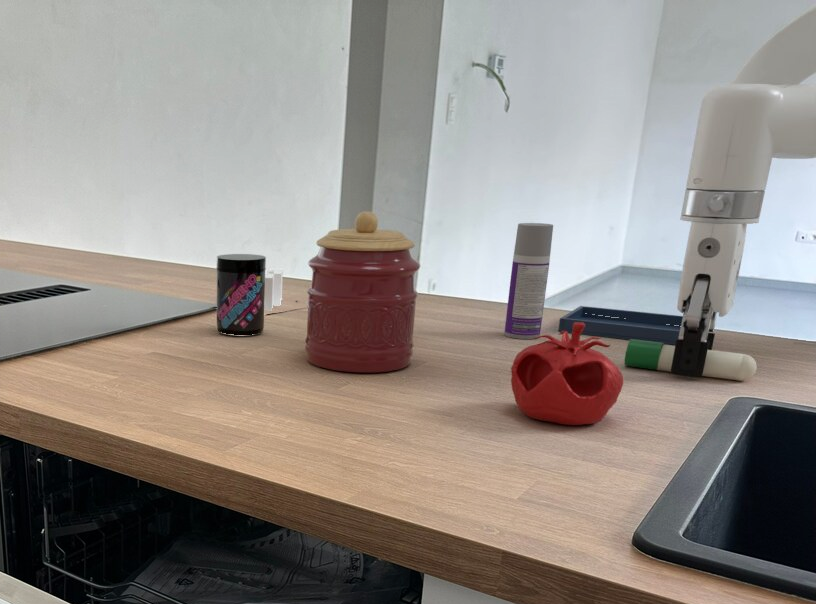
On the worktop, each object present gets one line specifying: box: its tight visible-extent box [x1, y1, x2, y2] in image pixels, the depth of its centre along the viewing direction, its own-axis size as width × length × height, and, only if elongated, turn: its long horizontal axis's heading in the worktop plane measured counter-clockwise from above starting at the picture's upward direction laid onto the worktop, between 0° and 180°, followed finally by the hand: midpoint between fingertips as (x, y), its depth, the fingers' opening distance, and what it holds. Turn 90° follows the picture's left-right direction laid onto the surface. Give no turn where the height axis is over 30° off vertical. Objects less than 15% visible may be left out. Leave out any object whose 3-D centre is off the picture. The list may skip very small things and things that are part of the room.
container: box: [504, 222, 554, 340], centre depth 117 cm, size 5×5×15 cm
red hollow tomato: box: [510, 322, 624, 426], centre depth 82 cm, size 10×10×9 cm
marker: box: [624, 339, 758, 382], centre depth 99 cm, size 13×3×3 cm, turn 55°
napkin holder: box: [264, 267, 284, 311], centre depth 139 cm, size 15×11×6 cm
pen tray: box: [558, 305, 683, 346], centre depth 122 cm, size 17×12×2 cm
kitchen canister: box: [304, 210, 421, 374], centre depth 102 cm, size 13×13×18 cm
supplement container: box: [215, 253, 267, 335], centre depth 119 cm, size 7×7×10 cm
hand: (689, 368), depth 99 cm, fingers open, 4 cm apart
